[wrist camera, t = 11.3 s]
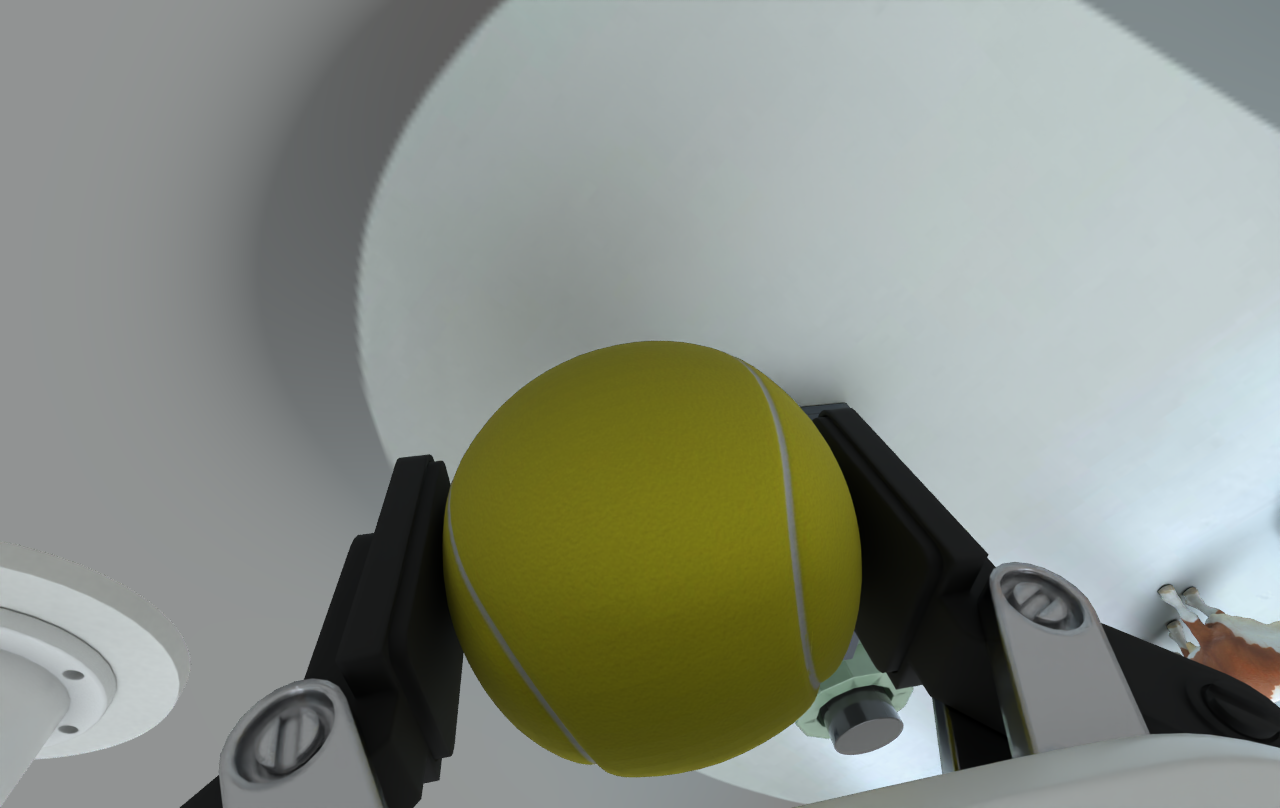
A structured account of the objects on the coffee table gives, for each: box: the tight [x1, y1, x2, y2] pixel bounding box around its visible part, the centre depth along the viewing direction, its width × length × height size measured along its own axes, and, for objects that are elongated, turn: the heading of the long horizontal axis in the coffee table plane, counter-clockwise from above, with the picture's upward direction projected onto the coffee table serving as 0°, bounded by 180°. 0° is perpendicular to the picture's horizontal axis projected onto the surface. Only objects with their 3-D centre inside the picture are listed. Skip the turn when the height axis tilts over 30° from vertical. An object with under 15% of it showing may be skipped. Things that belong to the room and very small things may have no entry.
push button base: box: [795, 640, 913, 739], centre depth 33 cm, size 11×9×4 cm
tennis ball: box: [442, 341, 862, 777], centre depth 10 cm, size 7×7×7 cm
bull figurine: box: [1158, 585, 1280, 703], centre depth 37 cm, size 4×14×8 cm, turn 9°
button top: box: [819, 685, 903, 755], centre depth 31 cm, size 4×4×2 cm
